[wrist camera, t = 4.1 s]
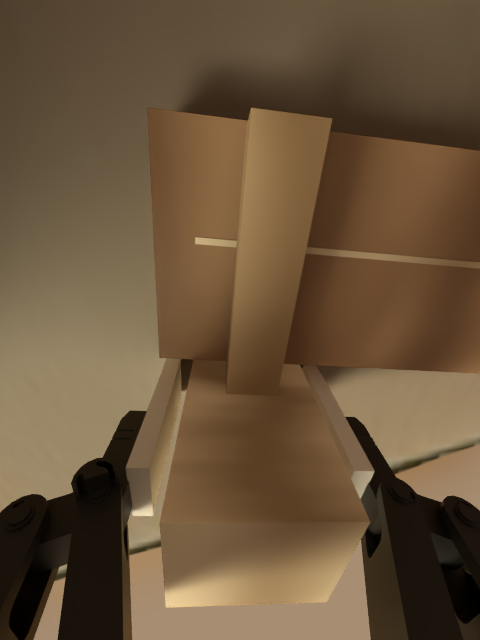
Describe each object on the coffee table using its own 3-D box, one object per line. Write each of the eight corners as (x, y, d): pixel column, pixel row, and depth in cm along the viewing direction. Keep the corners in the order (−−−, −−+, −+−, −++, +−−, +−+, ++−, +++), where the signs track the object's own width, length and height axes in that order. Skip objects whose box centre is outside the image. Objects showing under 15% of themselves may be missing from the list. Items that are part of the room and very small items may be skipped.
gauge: (196, 401, 16) (166, 612, 8) (203, 140, 10) (113, -95, 2) (275, 404, 16) (323, 606, 8) (324, 155, 11) (650, 9, 2)
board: (170, 332, 14) (159, 358, 11) (165, 128, 10) (147, 107, 8) (563, 354, 16) (621, 380, 13) (684, 192, 12) (793, 191, 10)
